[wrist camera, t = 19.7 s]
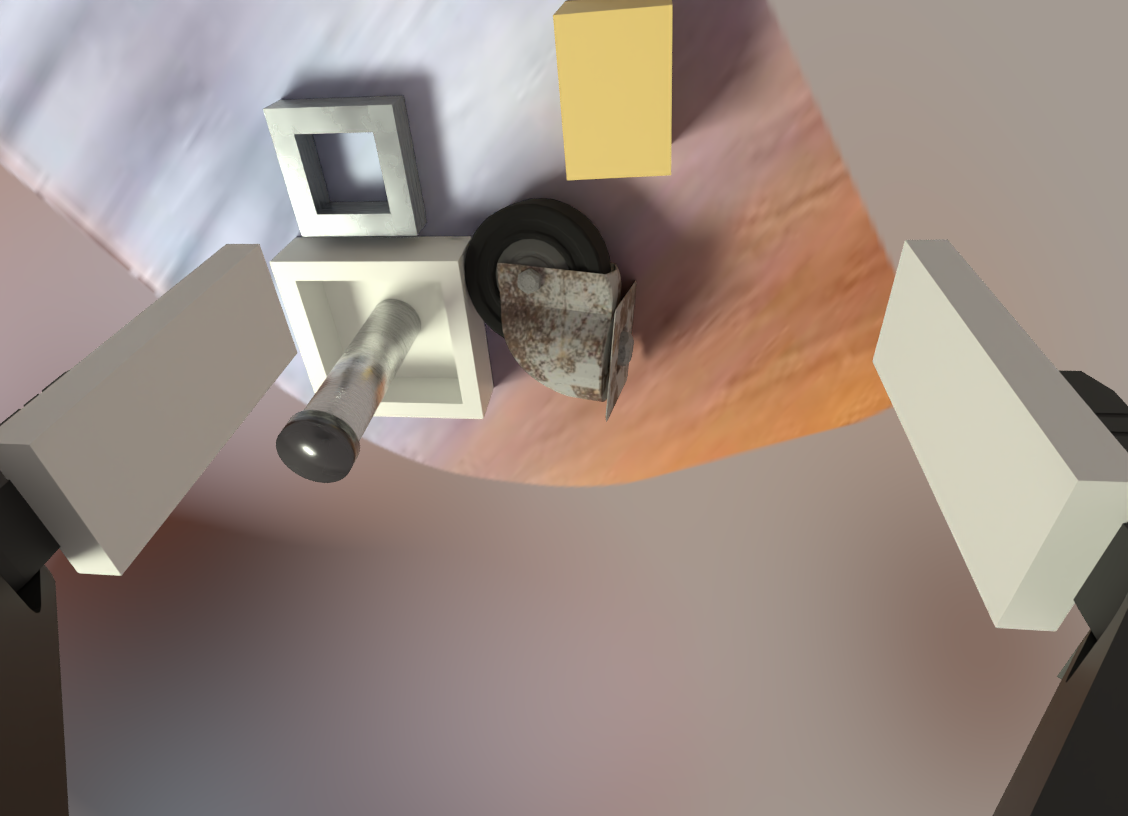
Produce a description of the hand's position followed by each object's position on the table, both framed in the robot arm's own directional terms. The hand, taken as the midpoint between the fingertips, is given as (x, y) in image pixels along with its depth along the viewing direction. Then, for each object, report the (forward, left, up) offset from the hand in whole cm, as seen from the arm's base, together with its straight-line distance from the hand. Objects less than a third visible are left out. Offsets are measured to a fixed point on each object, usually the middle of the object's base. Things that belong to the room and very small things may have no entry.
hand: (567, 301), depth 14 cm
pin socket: (+4, -15, -25) cm, 29 cm away
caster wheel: (+12, -4, -25) cm, 28 cm away
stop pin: (+14, -14, -24) cm, 32 cm away
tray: (+14, -14, -25) cm, 32 cm away
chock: (0, 0, -25) cm, 25 cm away
